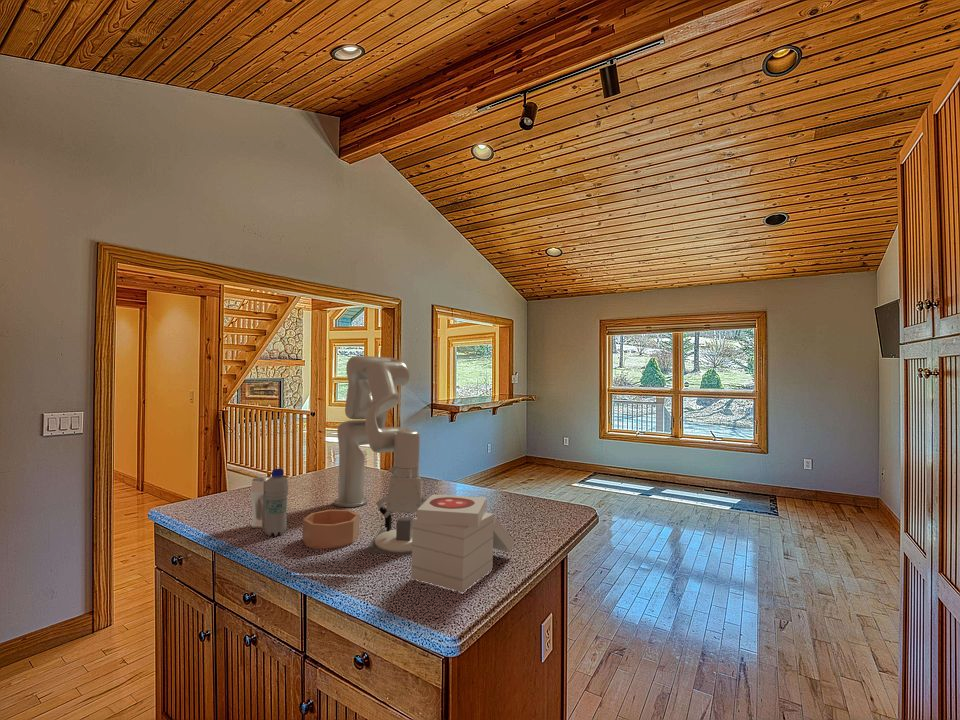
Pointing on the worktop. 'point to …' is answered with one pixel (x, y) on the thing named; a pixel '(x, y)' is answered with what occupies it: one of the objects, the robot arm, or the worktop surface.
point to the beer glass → (258, 501)
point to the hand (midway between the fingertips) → (404, 530)
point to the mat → (374, 549)
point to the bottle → (276, 503)
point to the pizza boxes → (455, 541)
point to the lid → (397, 537)
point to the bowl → (330, 528)
